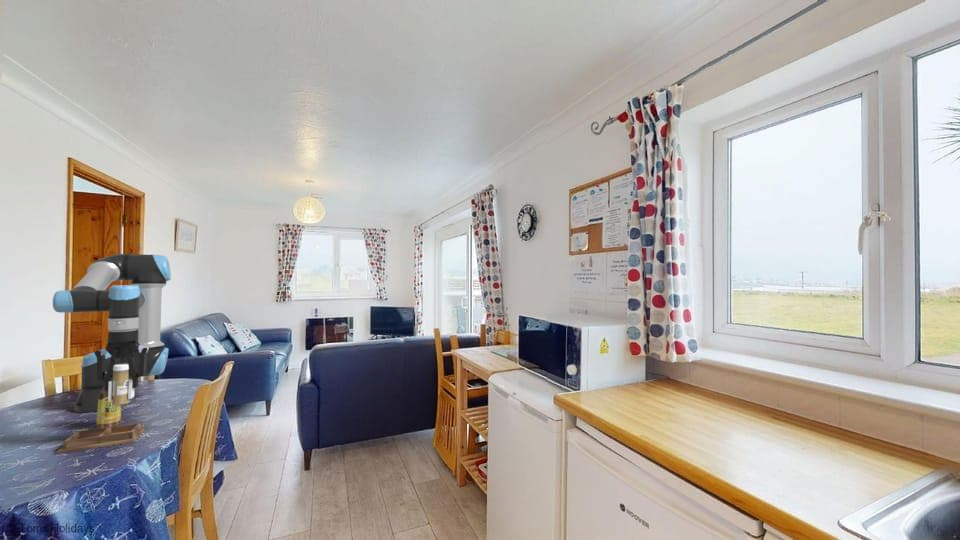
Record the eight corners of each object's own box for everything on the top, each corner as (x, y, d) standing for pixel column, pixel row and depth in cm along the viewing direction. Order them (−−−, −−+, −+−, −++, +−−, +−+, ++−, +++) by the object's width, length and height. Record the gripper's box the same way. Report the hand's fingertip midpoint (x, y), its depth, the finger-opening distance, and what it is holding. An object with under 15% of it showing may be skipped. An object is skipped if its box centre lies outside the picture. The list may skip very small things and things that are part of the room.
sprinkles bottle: (124, 405, 120) (125, 365, 121) (107, 406, 119) (109, 365, 120) (134, 400, 125) (135, 362, 125) (118, 401, 124) (119, 362, 124)
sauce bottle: (104, 430, 128) (106, 374, 128) (91, 428, 129) (93, 373, 129) (126, 423, 134) (127, 370, 135) (113, 421, 136) (114, 369, 136)
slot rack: (76, 438, 121) (77, 429, 121) (146, 428, 130) (146, 420, 130) (55, 454, 111) (56, 444, 111) (133, 442, 119) (133, 433, 119)
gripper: (82, 333, 115) (79, 406, 115) (152, 330, 123) (150, 398, 123) (93, 330, 122) (91, 399, 122) (160, 327, 130) (158, 392, 129)
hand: (121, 398), depth 122 cm, fingers closed on sprinkles bottle, 4 cm apart
